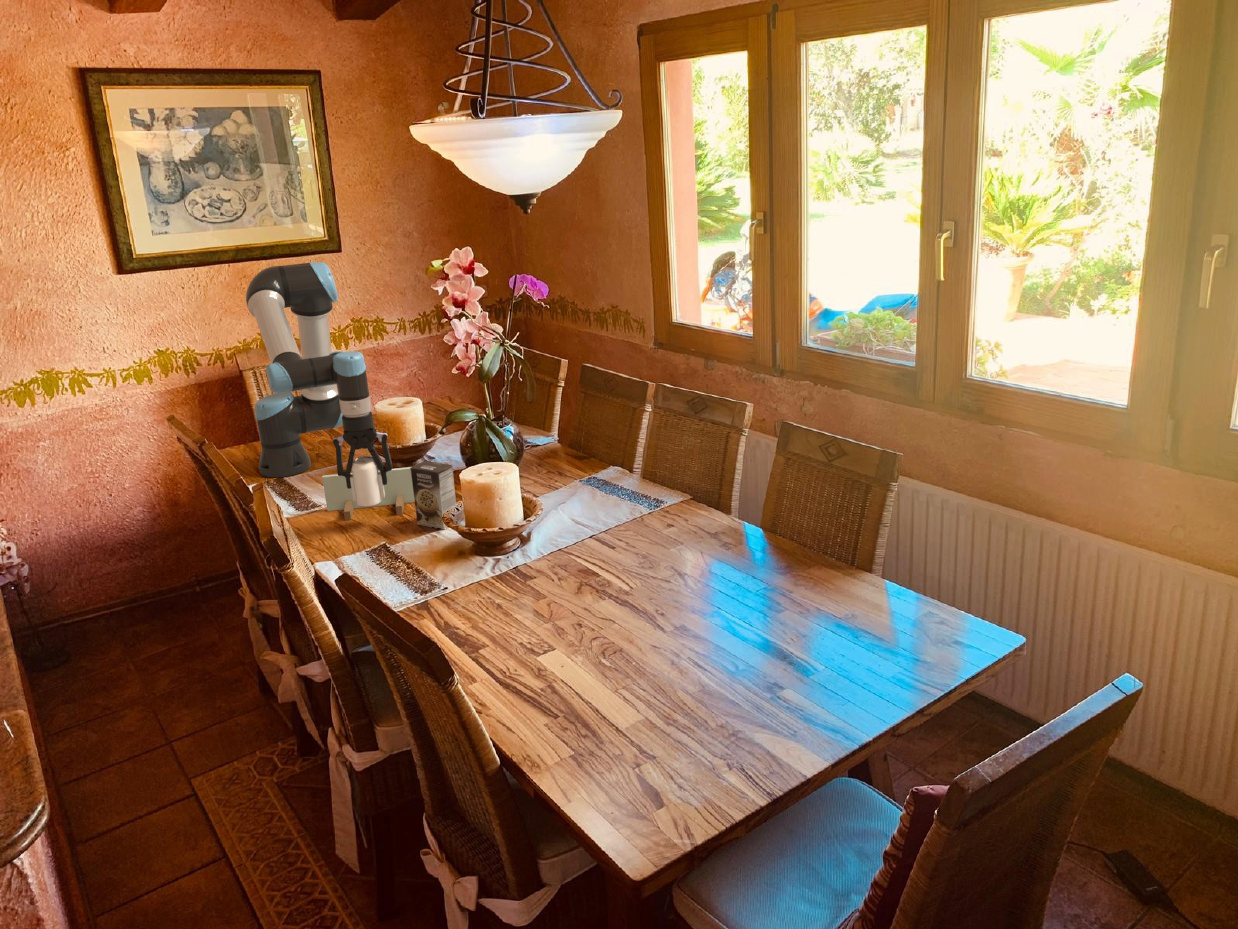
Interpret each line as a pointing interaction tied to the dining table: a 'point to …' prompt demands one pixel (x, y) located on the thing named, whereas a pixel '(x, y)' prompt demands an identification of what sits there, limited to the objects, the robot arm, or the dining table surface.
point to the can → (366, 481)
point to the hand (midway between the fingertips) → (369, 497)
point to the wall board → (395, 493)
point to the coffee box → (433, 492)
